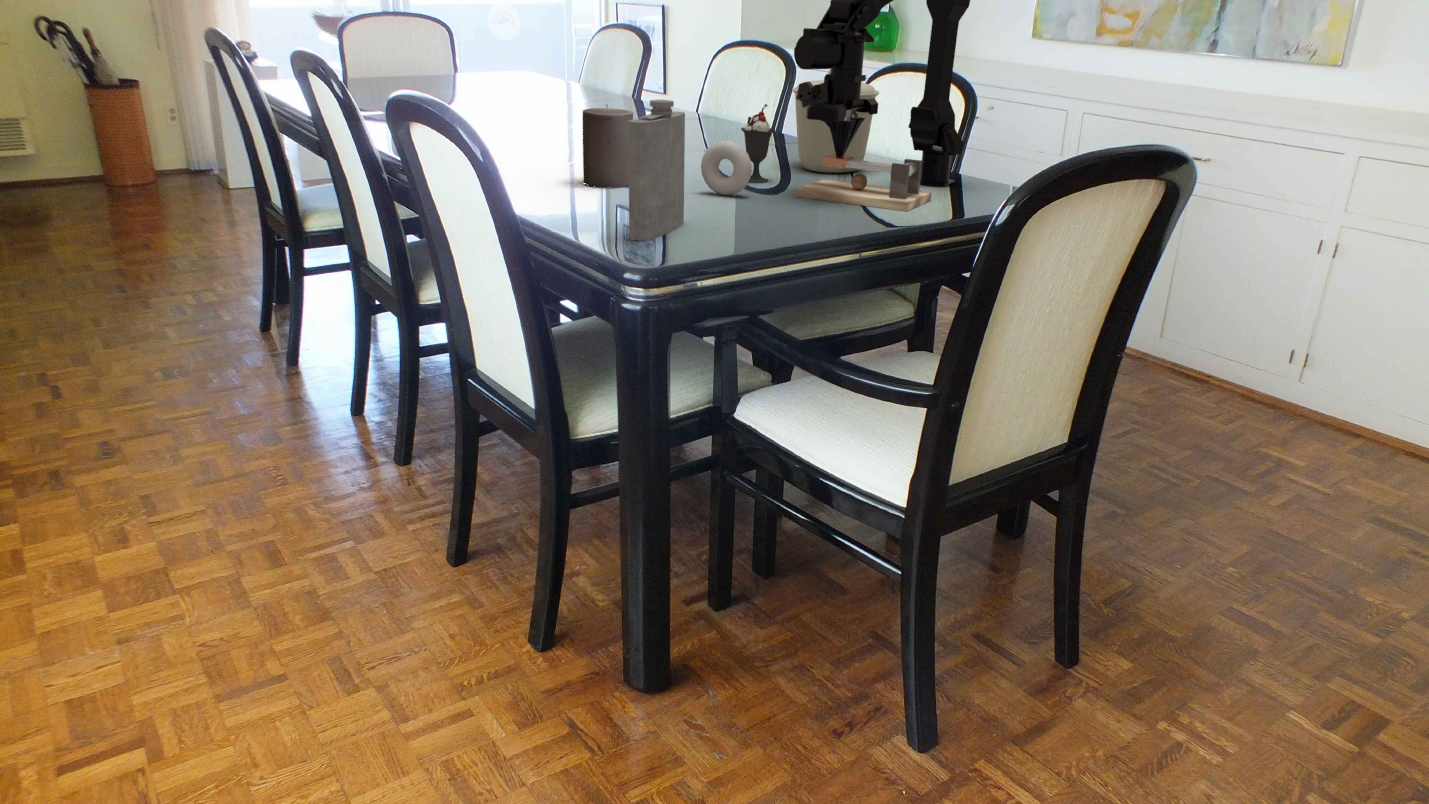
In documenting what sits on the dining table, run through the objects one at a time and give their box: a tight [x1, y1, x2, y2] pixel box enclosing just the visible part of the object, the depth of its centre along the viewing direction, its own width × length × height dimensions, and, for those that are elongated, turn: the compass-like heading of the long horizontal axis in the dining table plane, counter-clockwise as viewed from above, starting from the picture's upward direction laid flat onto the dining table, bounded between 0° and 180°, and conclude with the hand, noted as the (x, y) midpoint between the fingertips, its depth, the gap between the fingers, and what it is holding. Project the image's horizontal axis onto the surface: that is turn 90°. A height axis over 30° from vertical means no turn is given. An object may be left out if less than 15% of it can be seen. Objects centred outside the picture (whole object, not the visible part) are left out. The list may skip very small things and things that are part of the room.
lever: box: [822, 154, 917, 177], centre depth 190 cm, size 5×17×2 cm, turn 59°
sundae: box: [740, 103, 776, 184], centre depth 205 cm, size 7×7×15 cm
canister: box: [791, 69, 880, 174], centre depth 218 cm, size 18×18×21 cm
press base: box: [795, 158, 932, 212], centre depth 191 cm, size 12×22×8 cm, turn 59°
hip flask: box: [628, 99, 686, 242], centre depth 160 cm, size 16×4×20 cm, turn 158°
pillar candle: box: [582, 103, 634, 189], centre depth 198 cm, size 10×10×15 cm
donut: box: [700, 139, 753, 196], centre depth 191 cm, size 10×4×10 cm, turn 65°
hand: (839, 156), depth 192 cm, fingers closed, pressing on lever
